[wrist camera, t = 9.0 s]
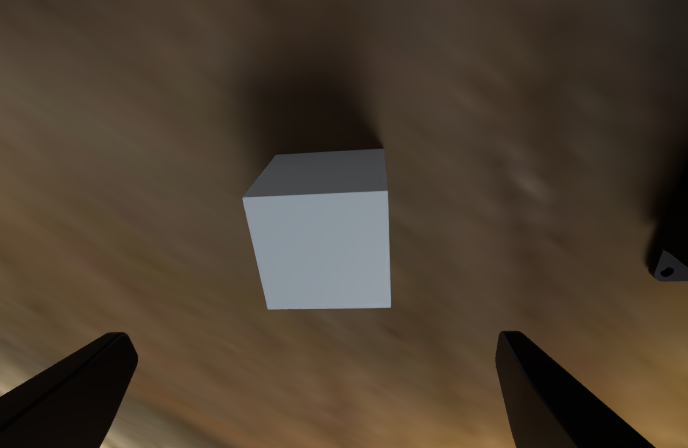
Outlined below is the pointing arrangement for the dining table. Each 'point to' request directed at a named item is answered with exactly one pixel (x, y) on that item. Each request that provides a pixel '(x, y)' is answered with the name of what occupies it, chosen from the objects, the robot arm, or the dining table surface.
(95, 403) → the robot arm
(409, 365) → the dining table surface
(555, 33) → the dining table surface
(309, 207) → the grey blue cube
